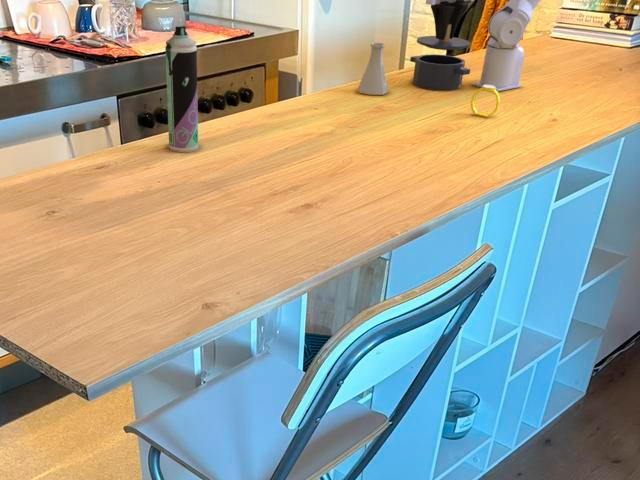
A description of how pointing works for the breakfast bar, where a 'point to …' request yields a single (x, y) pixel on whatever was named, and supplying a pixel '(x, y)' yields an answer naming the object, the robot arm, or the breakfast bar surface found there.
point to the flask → (374, 73)
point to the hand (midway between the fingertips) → (444, 38)
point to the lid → (444, 42)
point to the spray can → (182, 91)
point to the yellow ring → (486, 88)
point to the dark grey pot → (438, 72)
